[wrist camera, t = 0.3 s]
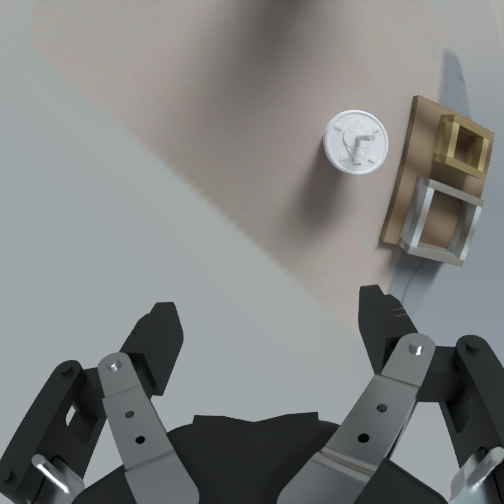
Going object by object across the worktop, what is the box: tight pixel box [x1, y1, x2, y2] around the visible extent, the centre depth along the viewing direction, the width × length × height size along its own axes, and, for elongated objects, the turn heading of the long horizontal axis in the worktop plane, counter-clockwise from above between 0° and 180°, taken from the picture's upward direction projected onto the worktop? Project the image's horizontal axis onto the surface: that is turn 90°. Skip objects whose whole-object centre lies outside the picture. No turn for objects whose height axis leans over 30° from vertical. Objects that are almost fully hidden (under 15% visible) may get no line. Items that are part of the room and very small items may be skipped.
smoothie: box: [323, 110, 388, 175], centre depth 28 cm, size 6×6×14 cm
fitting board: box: [380, 95, 495, 267], centre depth 33 cm, size 20×14×5 cm
